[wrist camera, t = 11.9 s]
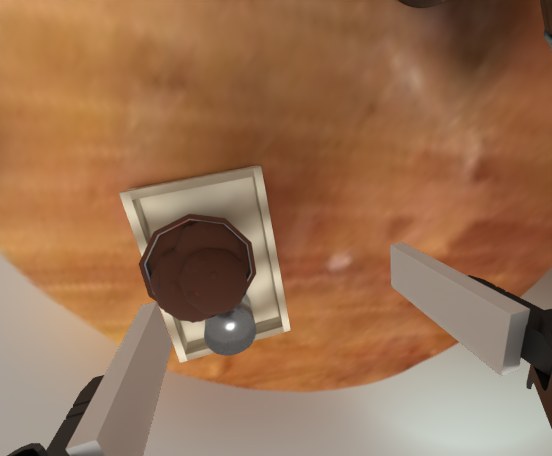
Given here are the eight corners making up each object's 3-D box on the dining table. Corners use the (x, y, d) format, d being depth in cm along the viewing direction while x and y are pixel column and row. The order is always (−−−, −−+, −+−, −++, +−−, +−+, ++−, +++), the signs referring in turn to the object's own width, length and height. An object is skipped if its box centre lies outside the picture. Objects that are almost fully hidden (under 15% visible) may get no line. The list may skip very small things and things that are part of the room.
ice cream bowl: (200, 180, 32) (187, 201, 18) (262, 238, 36) (291, 293, 22) (142, 239, 32) (83, 306, 18) (209, 290, 36) (203, 378, 22)
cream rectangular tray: (129, 188, 31) (118, 193, 28) (256, 165, 34) (261, 166, 31) (183, 345, 39) (180, 362, 35) (284, 316, 41) (290, 330, 38)
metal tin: (201, 293, 36) (198, 319, 30) (245, 282, 37) (251, 305, 31) (212, 330, 38) (211, 361, 32) (254, 318, 39) (260, 346, 33)
